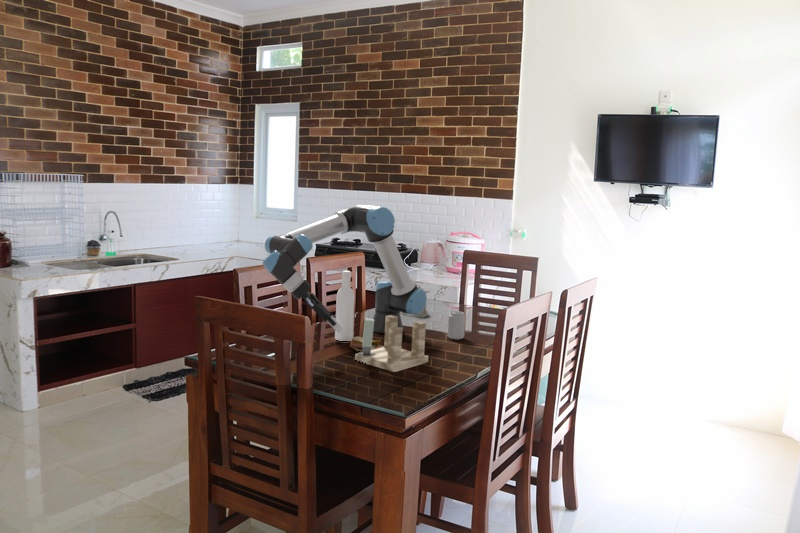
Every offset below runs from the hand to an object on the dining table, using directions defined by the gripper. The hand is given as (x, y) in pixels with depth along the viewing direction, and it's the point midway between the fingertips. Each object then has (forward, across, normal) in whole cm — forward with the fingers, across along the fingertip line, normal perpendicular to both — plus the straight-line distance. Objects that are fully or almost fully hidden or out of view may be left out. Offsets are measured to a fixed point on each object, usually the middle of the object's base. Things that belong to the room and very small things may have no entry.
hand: (340, 330), depth 243 cm
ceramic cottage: (+36, -92, +17) cm, 101 cm away
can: (+45, -40, +28) cm, 67 cm away
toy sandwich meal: (+16, -17, -1) cm, 23 cm away
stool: (+22, 0, +6) cm, 23 cm away
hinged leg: (+13, 0, +1) cm, 13 cm away
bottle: (+10, -31, -8) cm, 33 cm away
